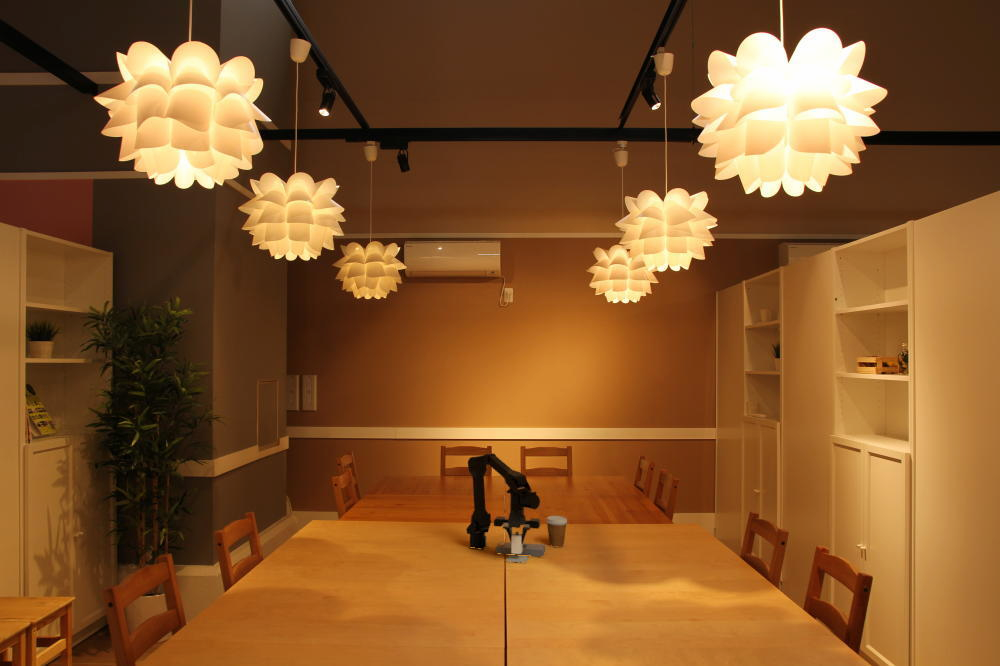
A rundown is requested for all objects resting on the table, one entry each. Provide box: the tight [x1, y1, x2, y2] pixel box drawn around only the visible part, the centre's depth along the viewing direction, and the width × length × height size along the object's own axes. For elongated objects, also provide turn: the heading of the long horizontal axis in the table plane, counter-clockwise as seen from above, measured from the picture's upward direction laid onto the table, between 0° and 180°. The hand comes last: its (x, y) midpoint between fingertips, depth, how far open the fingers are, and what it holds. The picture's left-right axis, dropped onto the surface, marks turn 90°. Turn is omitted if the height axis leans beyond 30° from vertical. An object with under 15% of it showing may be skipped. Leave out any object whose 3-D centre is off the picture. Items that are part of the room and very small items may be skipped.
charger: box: [510, 531, 523, 554], centre depth 251 cm, size 4×4×8 cm
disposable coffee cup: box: [545, 515, 568, 547], centre depth 272 cm, size 10×10×12 cm
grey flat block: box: [495, 541, 546, 557], centre depth 260 cm, size 20×8×4 cm, turn 79°
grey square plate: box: [505, 555, 529, 563], centre depth 251 cm, size 8×8×1 cm
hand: (517, 543), depth 251 cm, fingers closed on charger, 4 cm apart
